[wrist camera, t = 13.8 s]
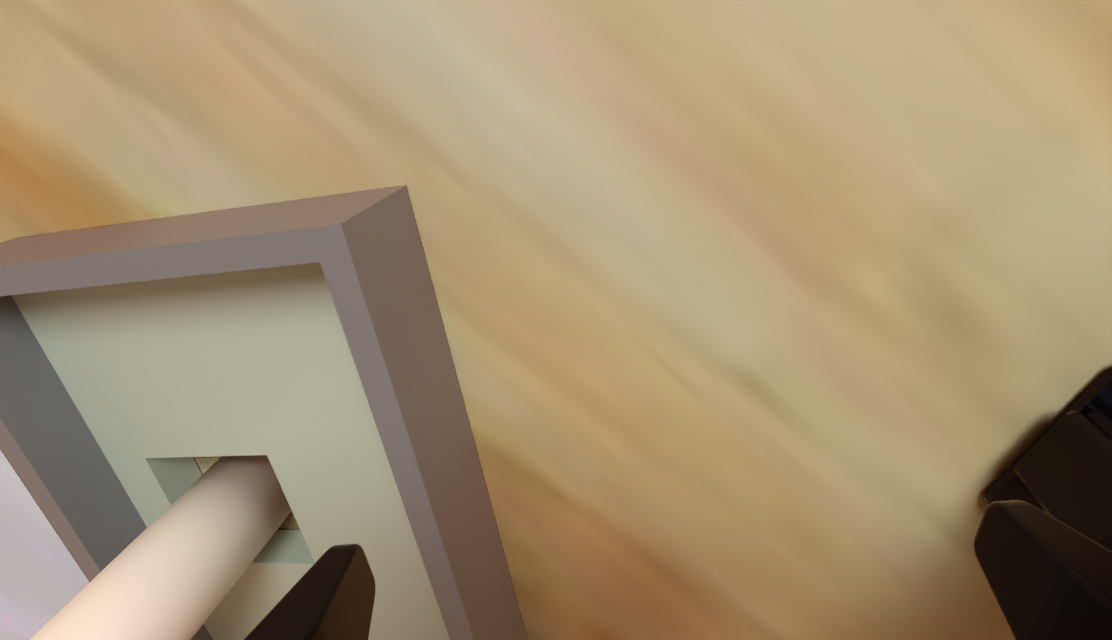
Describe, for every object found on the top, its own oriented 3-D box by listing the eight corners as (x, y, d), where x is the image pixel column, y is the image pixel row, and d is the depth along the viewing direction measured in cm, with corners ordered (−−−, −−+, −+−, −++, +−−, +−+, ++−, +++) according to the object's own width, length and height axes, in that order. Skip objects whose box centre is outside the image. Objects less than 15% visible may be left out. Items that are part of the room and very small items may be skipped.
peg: (268, 437, 26) (-45, 755, 15) (316, 504, 28) (64, 843, 16) (203, 456, 27) (-132, 763, 16) (252, 520, 29) (-25, 845, 17)
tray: (406, 185, 20) (340, 224, 16) (535, 671, 30) (515, 769, 26) (17, 237, 24) (-114, 279, 20) (249, 654, 34) (193, 737, 30)
